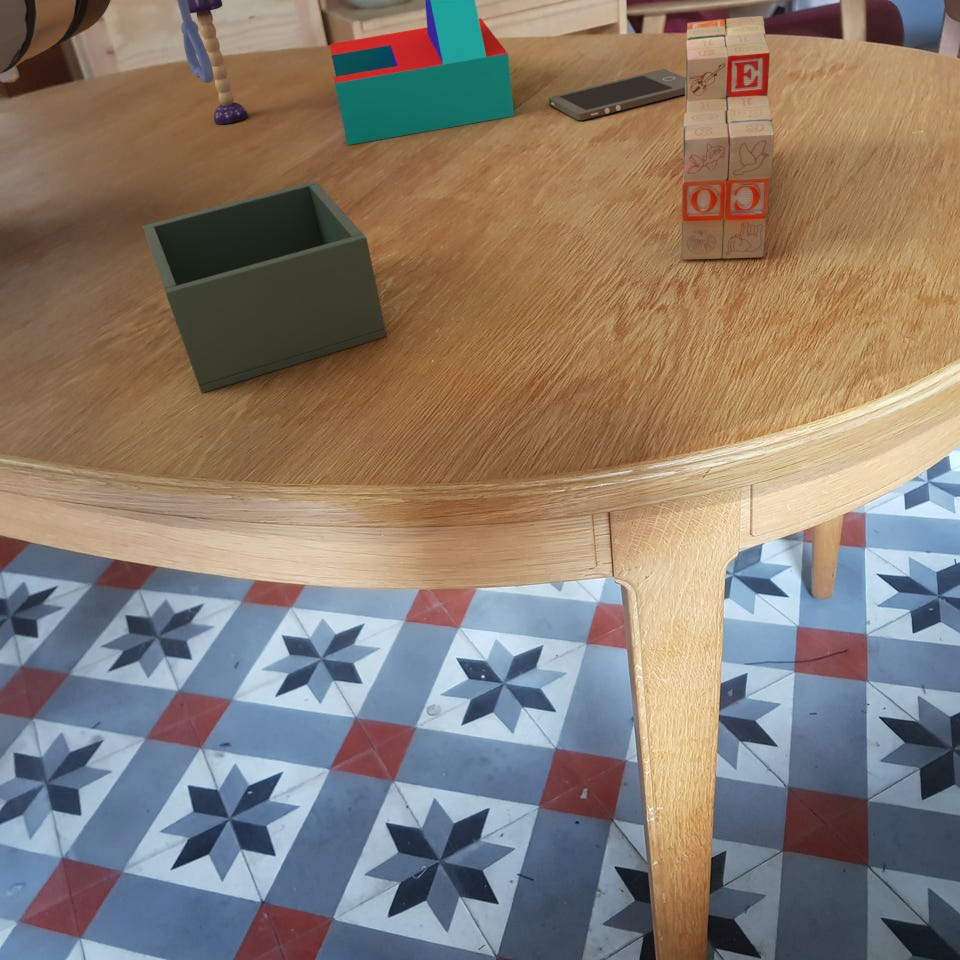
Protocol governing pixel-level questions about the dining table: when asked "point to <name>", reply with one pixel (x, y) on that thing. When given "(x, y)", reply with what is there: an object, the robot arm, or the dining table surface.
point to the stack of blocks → (726, 139)
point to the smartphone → (620, 94)
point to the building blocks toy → (423, 76)
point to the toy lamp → (217, 62)
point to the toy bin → (266, 283)
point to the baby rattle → (195, 46)
